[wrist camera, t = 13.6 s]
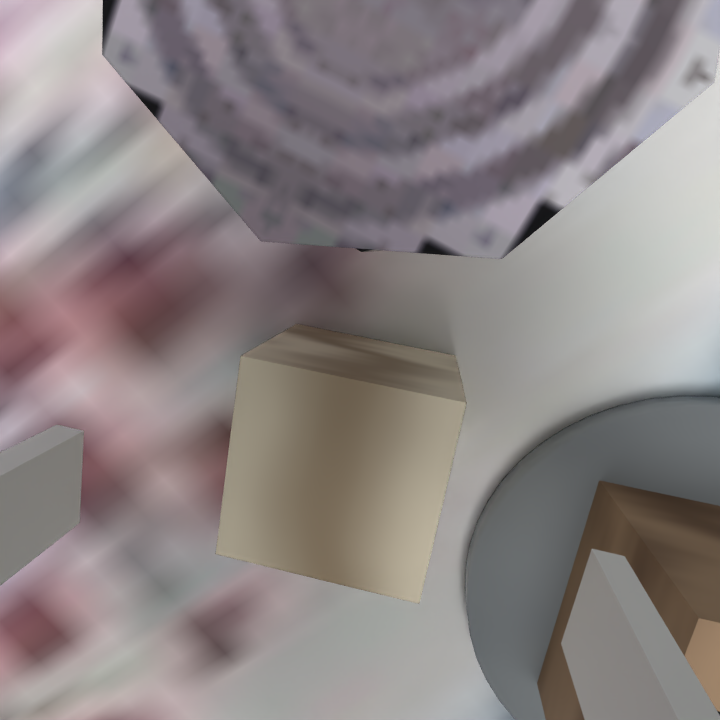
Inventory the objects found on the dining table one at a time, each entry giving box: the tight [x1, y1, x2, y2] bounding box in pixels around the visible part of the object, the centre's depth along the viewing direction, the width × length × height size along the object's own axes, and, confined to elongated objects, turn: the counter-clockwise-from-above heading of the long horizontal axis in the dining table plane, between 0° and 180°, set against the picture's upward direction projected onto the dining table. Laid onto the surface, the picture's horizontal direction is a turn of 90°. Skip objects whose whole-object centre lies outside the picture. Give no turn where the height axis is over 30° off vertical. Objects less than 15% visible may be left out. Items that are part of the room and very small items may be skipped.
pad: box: [465, 396, 720, 720], centre depth 22 cm, size 18×18×2 cm
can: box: [102, 0, 720, 259], centre depth 14 cm, size 11×11×12 cm
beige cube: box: [216, 324, 467, 604], centre depth 20 cm, size 7×7×7 cm
